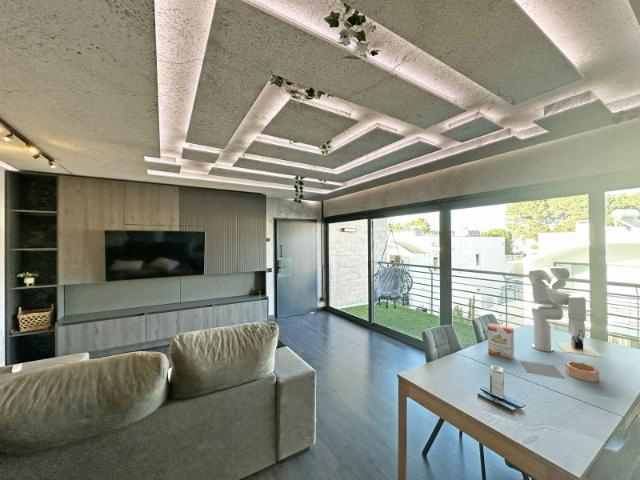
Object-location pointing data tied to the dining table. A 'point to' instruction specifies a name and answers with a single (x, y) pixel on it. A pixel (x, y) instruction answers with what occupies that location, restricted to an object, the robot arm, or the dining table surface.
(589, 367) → the bowl
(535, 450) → the dining table surface
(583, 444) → the dining table surface
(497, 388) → the syrup box
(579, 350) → the lid
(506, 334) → the cracker box
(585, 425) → the dining table surface
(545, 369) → the mat
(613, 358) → the dining table surface
